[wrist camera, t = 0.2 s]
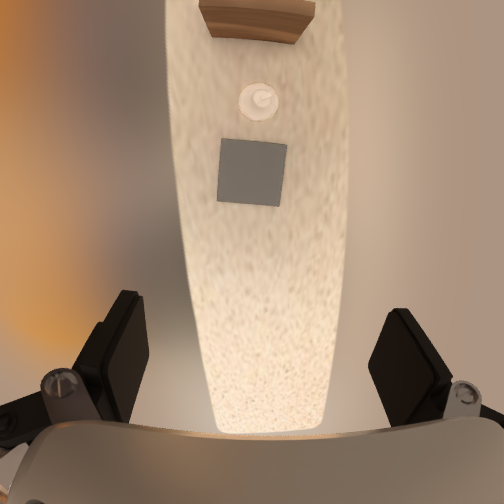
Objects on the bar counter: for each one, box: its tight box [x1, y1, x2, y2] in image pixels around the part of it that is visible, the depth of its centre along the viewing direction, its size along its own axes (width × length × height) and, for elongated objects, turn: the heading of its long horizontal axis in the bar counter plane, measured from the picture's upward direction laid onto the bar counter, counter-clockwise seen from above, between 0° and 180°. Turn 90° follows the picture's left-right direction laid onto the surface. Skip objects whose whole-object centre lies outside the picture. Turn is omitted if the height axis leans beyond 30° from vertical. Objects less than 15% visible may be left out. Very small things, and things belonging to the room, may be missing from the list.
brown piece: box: [199, 0, 315, 44], centre depth 25 cm, size 5×10×12 cm, turn 84°
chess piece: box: [238, 83, 279, 121], centre depth 31 cm, size 5×5×10 cm
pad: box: [217, 139, 287, 207], centre depth 39 cm, size 8×8×1 cm
